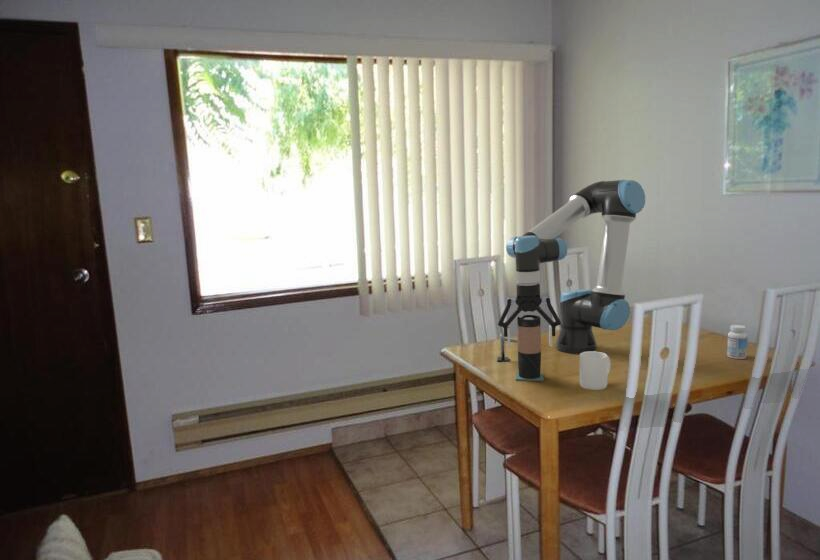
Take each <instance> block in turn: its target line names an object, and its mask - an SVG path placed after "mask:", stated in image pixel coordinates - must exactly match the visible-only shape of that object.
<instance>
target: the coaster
mask: <svg viewBox="0 0 820 560" xmlns="http://www.w3.org/2000/svg"><path fill="white" fill-rule="evenodd" d="M543 373H544V372H543V371H542V372H541V371H540V377H538V378H535V379H526V378H522V377H520V376H519V371H515V381H524V382H525V381H526V382H527V381H528V382H530V381H531V382H544V380H545V379H544V374H543Z"/></svg>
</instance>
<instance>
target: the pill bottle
mask: <svg viewBox="0 0 820 560" xmlns="http://www.w3.org/2000/svg"><path fill="white" fill-rule="evenodd" d="M729 327H730V328H729V329H730V331H729V332H728V334H727V347H726V348H727V350H726V354H727V357H728V358H731V359H732V360H733V359H734V360H745V359H746V358H747V356H748V338H749V337H748V334H747V333H746V329H747V328H746V326H745V325H741V324H731V325H730V326H729Z"/></svg>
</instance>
